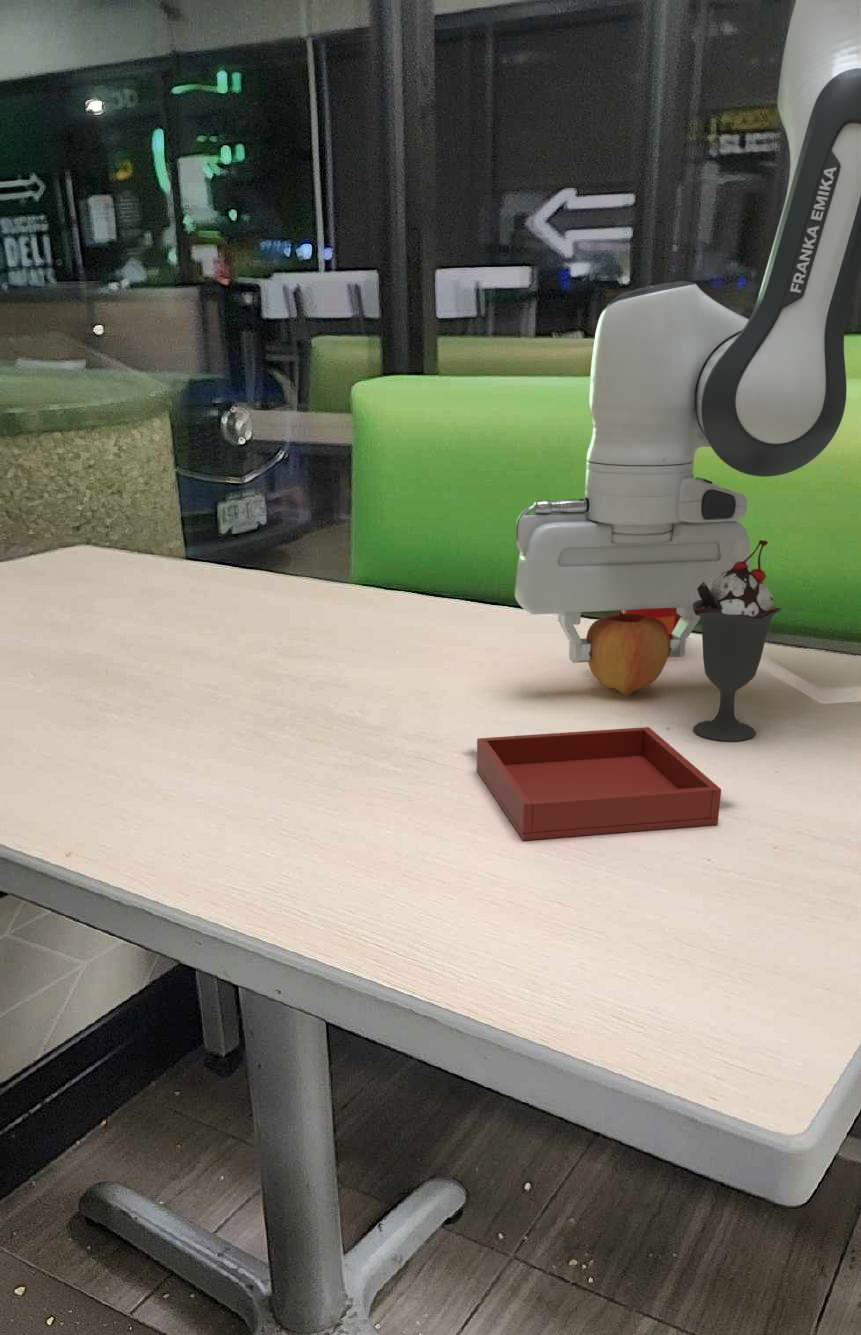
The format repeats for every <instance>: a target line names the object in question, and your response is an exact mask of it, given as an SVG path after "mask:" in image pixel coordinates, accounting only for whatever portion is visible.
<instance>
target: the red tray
mask: <svg viewBox="0 0 861 1335" xmlns="http://www.w3.org/2000/svg"><path fill="white" fill-rule="evenodd" d="M476 772H477V773H478V774H479V776H480V777H481V779H482V781H483V782H484V784H485V785H486V787H487V788H488V790H489V791H490V792H491V794H492V796H493V797H494V798H495V800H496V802H497V804H498V805H499V806H500V808H501V809H502V811H503V812H504V814H505V816H506V817H507V819H508V820H509V822H510V823H511V824H512V826H513V827H514V830H516V832H517V834H518V835H519V836H520V838H521V840H522V841H532V840H534V841H535V840H545V839H555V838H556V839H558V838H570V837H580V836H582V837H583V836H591V835H592V836H594V835H607V834H617V833H618V834H619V833H630V832H631V833H632V832H643V831H654V830H665V829H668V830H669V829H679V828H691V827H703V826H714V825H718V824H719V816H720V806H721V805H720V804H721V797H722V796H721V795H722V788H721V787H719V786H718V785H717V784H716V783H715V782H713V781H712V780H711V779H710V778H709V777H708V776H706V774H704V773H703V772H702V771H701V770H699V769H698V768H697V767H696V766H695V765H693V763H692V762H690V761H689V760H688V759H687V758H685V756H683V755H682V754H681V753H680V752H679V751H678V750H676V749H675V748H674V747H673V746H672V745H671V744H669V743H668V742H667V741H666V740H664V738H662V737H661V736H660V735H658V734H657V733H656V732H655V731H654V730H653V729H652V728H651V727H650V726H645V727H629V728H615V729H614V728H613V729H600V730H599V729H597V730H582V731H570V732H569V731H568V732H553V733H537V734H536V733H535V734H525V735H511V736H510V735H509V736H494V737H493V736H491V737H480V738H477V739H476Z"/></svg>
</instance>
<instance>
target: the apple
mask: <svg viewBox="0 0 861 1335" xmlns="http://www.w3.org/2000/svg"><path fill="white" fill-rule="evenodd" d="M618 612H619V613H616V614H610V615H606V616H604V617H601V618H598V619H597V620H595V621H594V622H592V623H591V625H590V626H589V628H588V630H587V632H586V637H585V639H586V640H588V641H589V642H590V643H591V652H590V653H589V654H590V655H591V660H590V662H587V664H588V666H589V669H590V671H591V674H593V676H594V678H595V679H596V681H597V682H598V683H599V684H600V686H602V688H605V690H608V691H615V690H617V691H619V692H620V693H621V694H623V695H624V696H629V695H631V694H632V693H633V692H635V691H638V690H640V689H643V688H645V687H647V686H650V685H651V684H653V683H654V682H655V681H656V680H657V679H658V677H659V676H660V675H661V673H662V672H663V670H664V668H665V665H666V664H667V661H668V655H669V649H670V637H669V632H668V629H667V627H666V626H665V625H664V624H663V623H662V622H661V621H659V620H657V619H655V618H652V617H649V616H646V615H642V614H636V613H621V610H618Z"/></svg>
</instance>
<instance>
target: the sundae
mask: <svg viewBox="0 0 861 1335" xmlns="http://www.w3.org/2000/svg"><path fill="white" fill-rule="evenodd" d="M768 543H769V542H768V540H762V539H760V540H759V541H758V544H757V546H756V548H755V550H753V552H752V553H750V556H749V557H748V558H747V559H746V560H744V561H743V562H737V563H735V565H734V566H733V568H732V569H731V570H729V571H727V572H723V573H722V574H721V575H720V576H719V577H718V578H717V579H716V580H715V581H714V582H713V585H712V588H711V592H710V590H709V588H708V587H707V585H706V584H705V582H703V583H702V584H701V585H700V586H698V588H697V590H698V593H699V596H700V598H701V599H702V600H698V601H695V602H694V603H693V611H694V612H695V614H696V615H699V616H700V624H701V625H700V626H701V636H702V637H701V638H702V659H703V667H704V668H703V669H704V674H705V676H706V677H707V678H708V680H709V681H710V683H712V684H713V685H714V686H715V687H716V688H717V689H718V691H719V692H720V698H719V706H718V709H717V713H716V715H715V716H714V717H713V719H711V720H710V719H709V720H702V721H699V722H698V723H696V724H695V725H694V726H693V727H692V731H693V732H694V733H695V734H696V735H697V736H699V737H701V738H702V737H703V738H705V739H707V740H713V741H720V742H741V741H747V740H749V739H752V738H753V737H755V736H756V735H757V732H756V731H757V730H755V728H754V727H753V726H751V725H749V724H747V723H743V722H740V721H739V720H738V718H737V716H736V713H735V712H736V710H735V700H736V693H737V692H738V691H739V690H740V689H741V688H743V687H745V686H746V685H748V683H750V682H751V681H752V680H753V679H754V678H755V676H756V674H757V672H758V669H759V666H760V663H761V660H762V656H763V651H764V647H765V644H766V639H767V635H768V631H769V628H770V625H771V621H772V618H773V617H774V615H776V614H778V613H779V612H781V611H782V608H781V607H776V606H775V604H774V603H775V602H774V597H773V596H774V595H773V594H772V592H771V591H770V589H769V588H768V586H767V585H765V583H763V582H765V580H766V577H767V575H766V572H765V571H764V570H762V568H761V555H762V552H763V548H764V547H766V546H767V545H768ZM760 546H761V547H760ZM759 547H760V549H759ZM758 549H759V553H758V556H757V557H758V558H757V568H753V569H752V570H751V571H750V569H749V570H748V565H747V564H746V562H747V560H748V559H749V558H750V559H751V558H752V556H754V554H755V553H756V552H757V550H758Z"/></svg>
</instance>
